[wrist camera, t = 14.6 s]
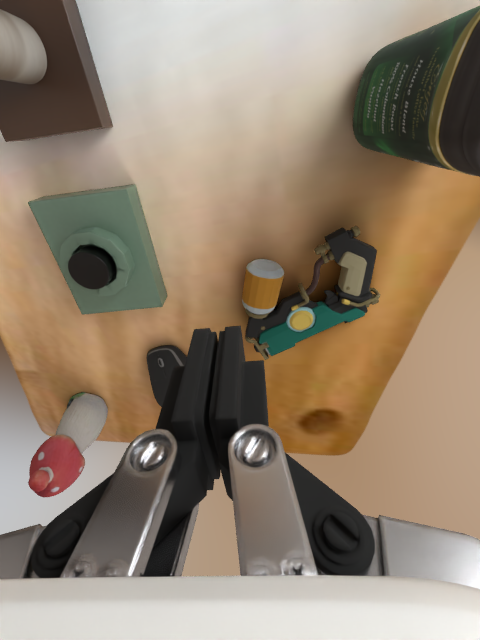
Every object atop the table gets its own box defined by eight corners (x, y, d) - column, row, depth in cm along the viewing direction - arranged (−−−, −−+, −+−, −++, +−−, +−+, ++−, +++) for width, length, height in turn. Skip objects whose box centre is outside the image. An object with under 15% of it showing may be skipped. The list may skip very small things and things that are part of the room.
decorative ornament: (80, 380, 46) (18, 476, 34) (120, 398, 48) (76, 495, 36) (61, 412, 50) (0, 509, 38) (99, 427, 52) (52, 524, 40)
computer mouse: (182, 339, 41) (177, 358, 38) (213, 398, 48) (210, 419, 44) (137, 350, 43) (127, 369, 39) (172, 406, 49) (167, 427, 46)
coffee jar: (342, 152, 29) (454, 189, 13) (363, 41, 24) (567, -101, 9) (443, 156, 29) (674, 196, 13) (482, 45, 24) (897, -90, 9)
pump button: (69, 248, 30) (60, 254, 29) (107, 243, 30) (100, 250, 28) (85, 283, 32) (77, 291, 31) (121, 280, 32) (114, 287, 31)
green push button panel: (43, 196, 31) (15, 206, 28) (135, 184, 31) (119, 192, 27) (91, 303, 38) (74, 323, 35) (167, 295, 38) (158, 315, 34)
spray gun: (371, 214, 32) (370, 324, 41) (222, 251, 34) (250, 349, 42) (390, 226, 29) (384, 343, 37) (222, 267, 30) (253, 371, 39)
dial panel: (-52, -28, 23) (-82, -43, 21) (60, -51, 22) (41, -69, 20) (23, 140, 29) (5, 142, 27) (113, 126, 28) (102, 127, 26)
